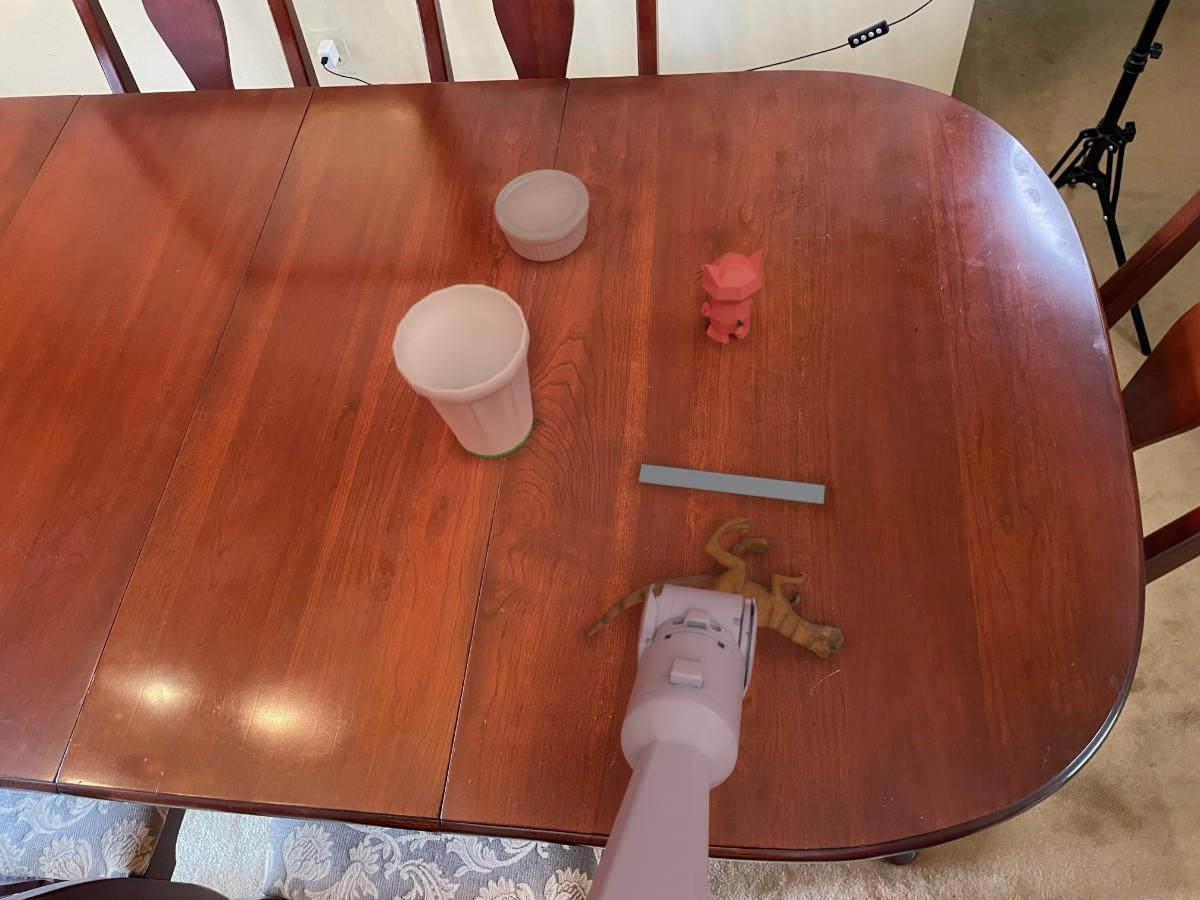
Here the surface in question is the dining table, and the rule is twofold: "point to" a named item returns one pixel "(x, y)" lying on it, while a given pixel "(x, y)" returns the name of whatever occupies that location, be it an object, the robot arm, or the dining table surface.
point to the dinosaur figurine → (747, 591)
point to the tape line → (732, 484)
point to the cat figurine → (731, 293)
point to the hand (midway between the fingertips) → (698, 723)
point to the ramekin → (543, 214)
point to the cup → (470, 365)
